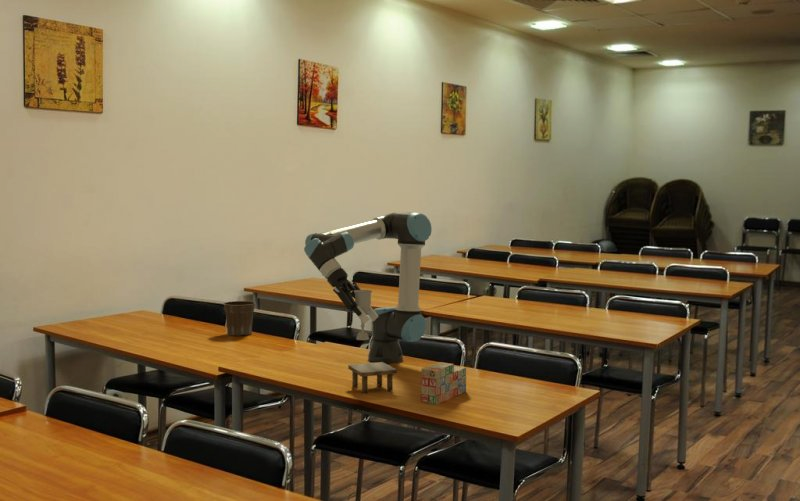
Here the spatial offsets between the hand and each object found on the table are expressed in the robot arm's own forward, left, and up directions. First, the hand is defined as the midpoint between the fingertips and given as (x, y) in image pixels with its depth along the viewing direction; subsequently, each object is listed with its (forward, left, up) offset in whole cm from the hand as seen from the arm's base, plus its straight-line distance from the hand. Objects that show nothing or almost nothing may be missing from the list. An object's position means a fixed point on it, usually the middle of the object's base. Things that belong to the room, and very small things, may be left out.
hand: (371, 320), depth 297 cm
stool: (-1, -1, -26) cm, 26 cm away
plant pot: (+20, -130, -26) cm, 134 cm away
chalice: (+2, -3, -8) cm, 8 cm away
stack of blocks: (-20, +20, -26) cm, 39 cm away
